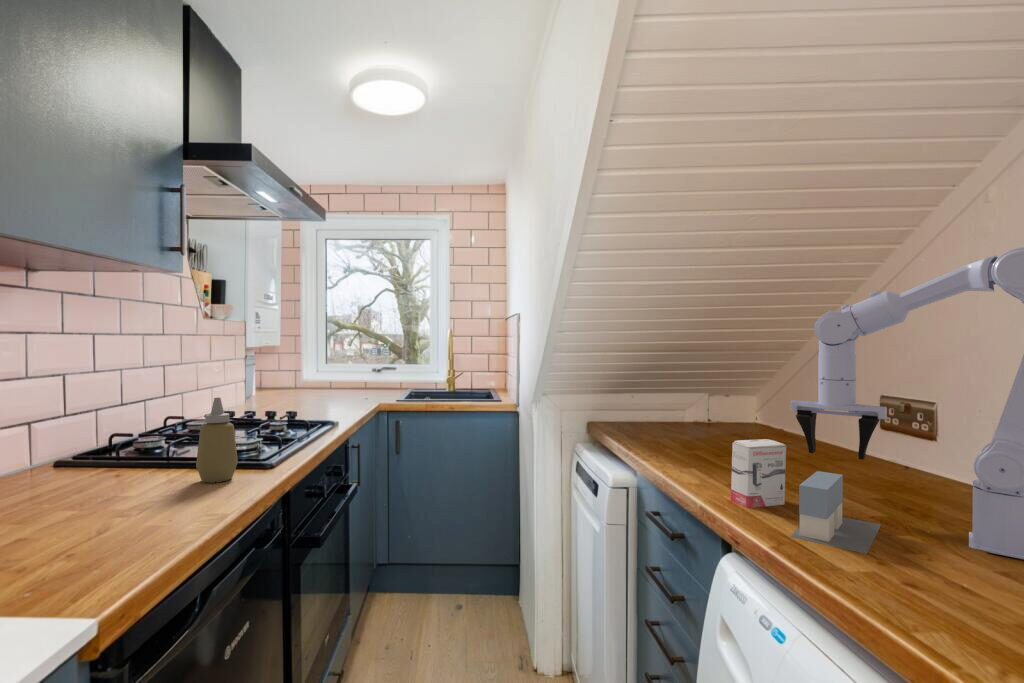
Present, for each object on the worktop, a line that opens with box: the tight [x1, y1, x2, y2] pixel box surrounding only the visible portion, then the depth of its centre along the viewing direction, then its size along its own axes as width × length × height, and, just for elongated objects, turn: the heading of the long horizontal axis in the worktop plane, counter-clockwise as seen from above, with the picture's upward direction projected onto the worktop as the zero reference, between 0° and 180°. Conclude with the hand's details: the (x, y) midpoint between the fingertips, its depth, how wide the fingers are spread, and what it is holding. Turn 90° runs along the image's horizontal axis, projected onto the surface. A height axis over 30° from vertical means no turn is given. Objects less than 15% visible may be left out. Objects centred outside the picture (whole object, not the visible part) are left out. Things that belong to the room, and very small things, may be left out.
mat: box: [789, 516, 882, 555], centre depth 85 cm, size 10×16×1 cm, turn 139°
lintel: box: [798, 470, 844, 519], centre depth 85 cm, size 4×12×4 cm, turn 138°
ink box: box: [730, 438, 787, 509], centre depth 99 cm, size 9×5×12 cm, turn 106°
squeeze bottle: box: [195, 397, 239, 484], centre depth 115 cm, size 8×8×18 cm
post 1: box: [799, 512, 834, 542], centre depth 83 cm, size 4×4×4 cm
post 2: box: [834, 502, 843, 529], centre depth 88 cm, size 4×4×4 cm
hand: (836, 455), depth 94 cm, fingers open, 7 cm apart
